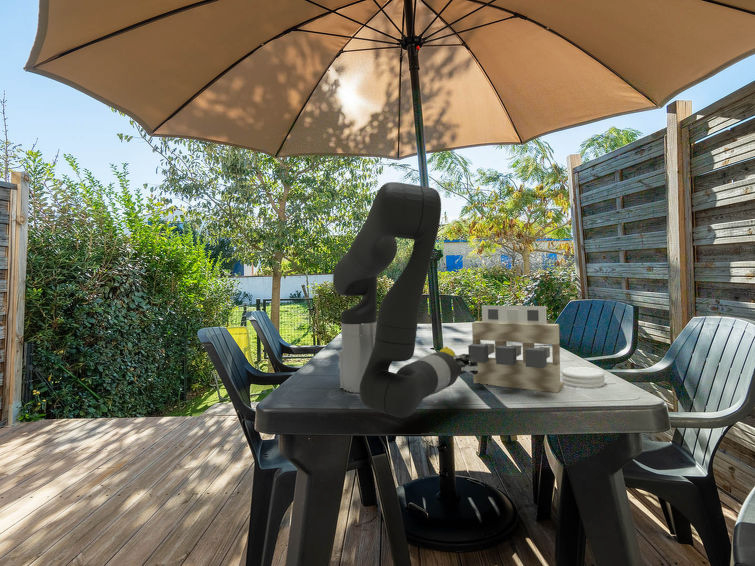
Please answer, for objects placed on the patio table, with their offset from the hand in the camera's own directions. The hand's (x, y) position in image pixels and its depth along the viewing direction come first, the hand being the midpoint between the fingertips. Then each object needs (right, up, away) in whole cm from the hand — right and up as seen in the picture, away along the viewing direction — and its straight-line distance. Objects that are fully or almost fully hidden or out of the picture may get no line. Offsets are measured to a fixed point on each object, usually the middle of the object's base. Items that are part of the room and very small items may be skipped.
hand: (466, 358), depth 107 cm
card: (+13, +8, +7) cm, 17 cm away
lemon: (-1, -9, +23) cm, 25 cm away
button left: (+6, -2, +9) cm, 11 cm away
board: (+15, -8, +9) cm, 19 cm away
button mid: (+12, -1, +5) cm, 13 cm away
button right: (+18, -1, +1) cm, 18 cm away
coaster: (+31, -8, +9) cm, 34 cm away
